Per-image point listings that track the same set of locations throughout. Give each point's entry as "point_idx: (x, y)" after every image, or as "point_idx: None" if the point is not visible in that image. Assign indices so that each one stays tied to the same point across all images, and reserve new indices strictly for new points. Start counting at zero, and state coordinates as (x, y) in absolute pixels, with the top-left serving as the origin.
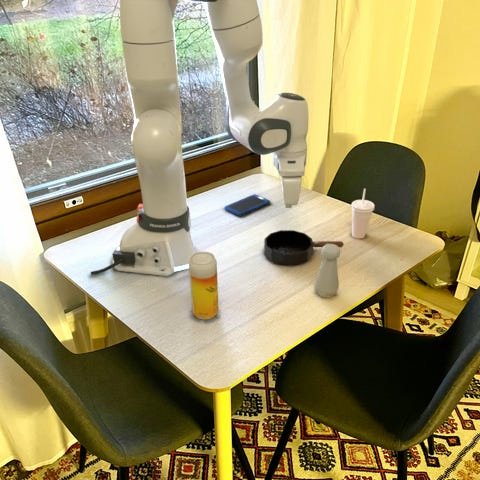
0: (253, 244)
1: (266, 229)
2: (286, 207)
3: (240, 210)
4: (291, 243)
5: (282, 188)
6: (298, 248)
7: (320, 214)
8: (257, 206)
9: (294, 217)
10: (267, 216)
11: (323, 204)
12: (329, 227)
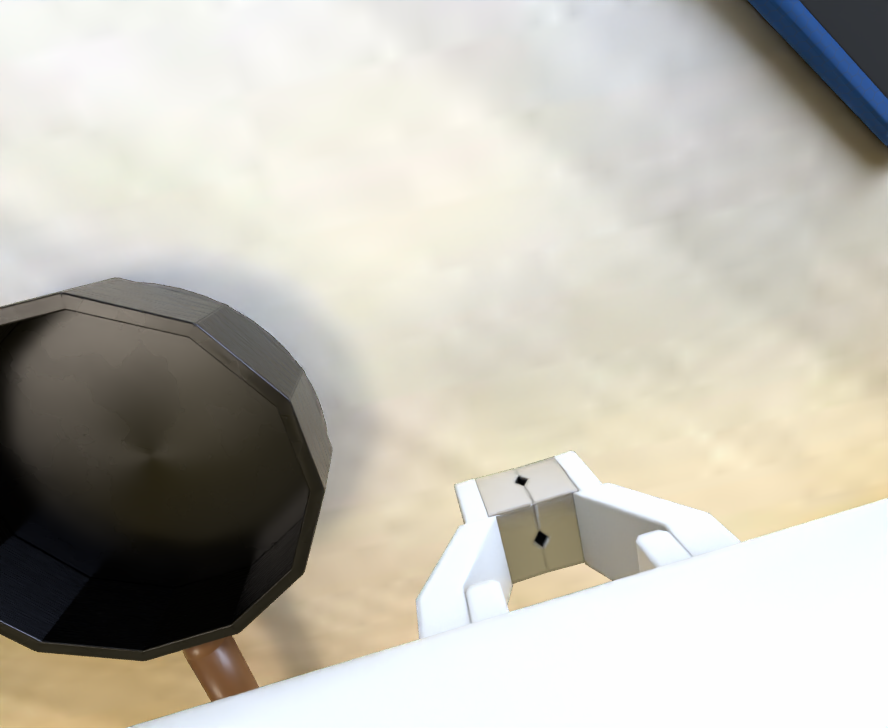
0: (184, 164)
1: (465, 220)
2: (456, 491)
3: None
4: (275, 452)
5: (539, 661)
6: (222, 508)
7: (723, 518)
8: (823, 56)
9: (675, 381)
10: (678, 182)
11: (849, 508)
12: (568, 592)
